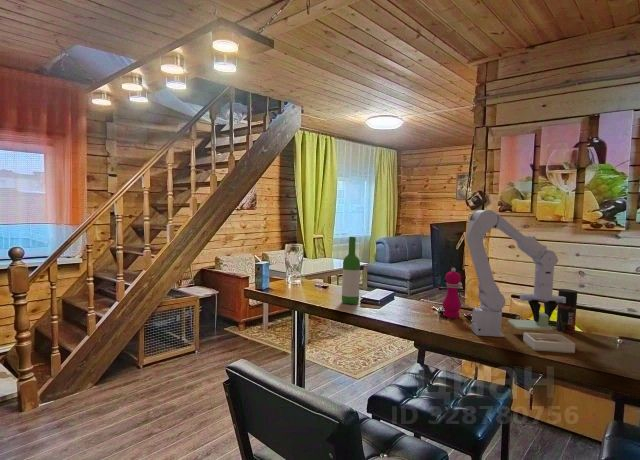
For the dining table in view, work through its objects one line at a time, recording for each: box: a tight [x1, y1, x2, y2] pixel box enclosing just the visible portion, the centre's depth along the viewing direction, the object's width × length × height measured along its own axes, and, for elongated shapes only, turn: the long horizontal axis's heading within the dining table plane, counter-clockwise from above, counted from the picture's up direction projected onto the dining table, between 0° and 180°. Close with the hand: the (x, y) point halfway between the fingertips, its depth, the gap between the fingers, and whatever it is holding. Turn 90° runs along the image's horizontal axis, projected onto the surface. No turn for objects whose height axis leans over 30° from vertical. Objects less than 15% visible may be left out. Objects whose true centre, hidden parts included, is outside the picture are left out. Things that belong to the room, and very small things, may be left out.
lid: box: [507, 311, 554, 331], centre depth 142 cm, size 12×9×4 cm
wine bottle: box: [341, 236, 361, 305], centre depth 182 cm, size 8×8×30 cm
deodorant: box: [555, 288, 578, 334], centre depth 149 cm, size 6×6×15 cm
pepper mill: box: [442, 267, 462, 319], centre depth 164 cm, size 7×7×20 cm
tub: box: [522, 332, 576, 354], centre depth 130 cm, size 12×9×3 cm
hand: (541, 321), depth 142 cm, fingers closed on lid, 3 cm apart
